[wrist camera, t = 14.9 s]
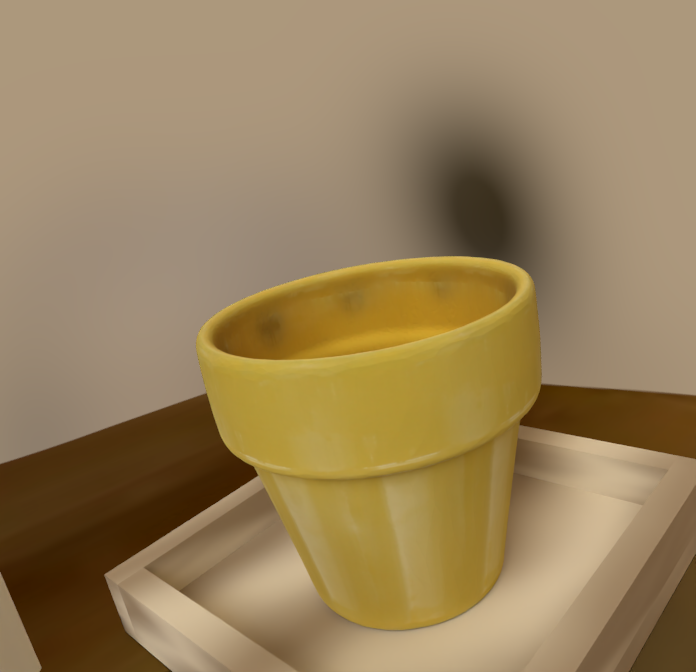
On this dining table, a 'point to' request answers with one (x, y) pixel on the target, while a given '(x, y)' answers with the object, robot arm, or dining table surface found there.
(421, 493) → the plant pot
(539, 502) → the birch tray
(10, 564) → the dining table surface
